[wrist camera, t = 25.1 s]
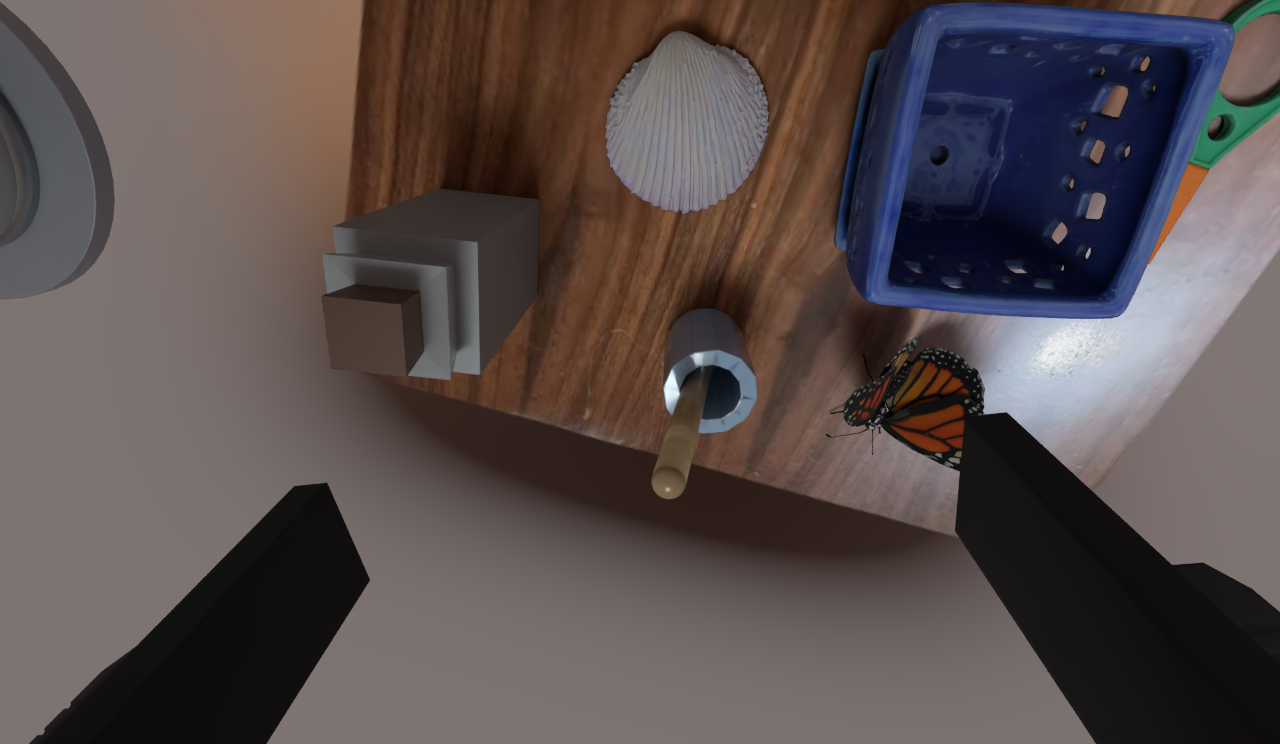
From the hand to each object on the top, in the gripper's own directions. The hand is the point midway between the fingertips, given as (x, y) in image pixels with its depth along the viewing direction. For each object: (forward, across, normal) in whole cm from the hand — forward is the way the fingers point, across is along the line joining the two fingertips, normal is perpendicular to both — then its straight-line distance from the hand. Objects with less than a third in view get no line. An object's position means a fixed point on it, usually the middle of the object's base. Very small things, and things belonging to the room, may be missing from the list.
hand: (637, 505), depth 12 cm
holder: (+30, +2, -9) cm, 31 cm away
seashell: (+30, +2, +6) cm, 31 cm away
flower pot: (+30, +17, +2) cm, 35 cm away
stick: (+29, +2, -9) cm, 31 cm away
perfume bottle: (+30, -12, +1) cm, 33 cm away
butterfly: (+30, +14, -14) cm, 36 cm away
